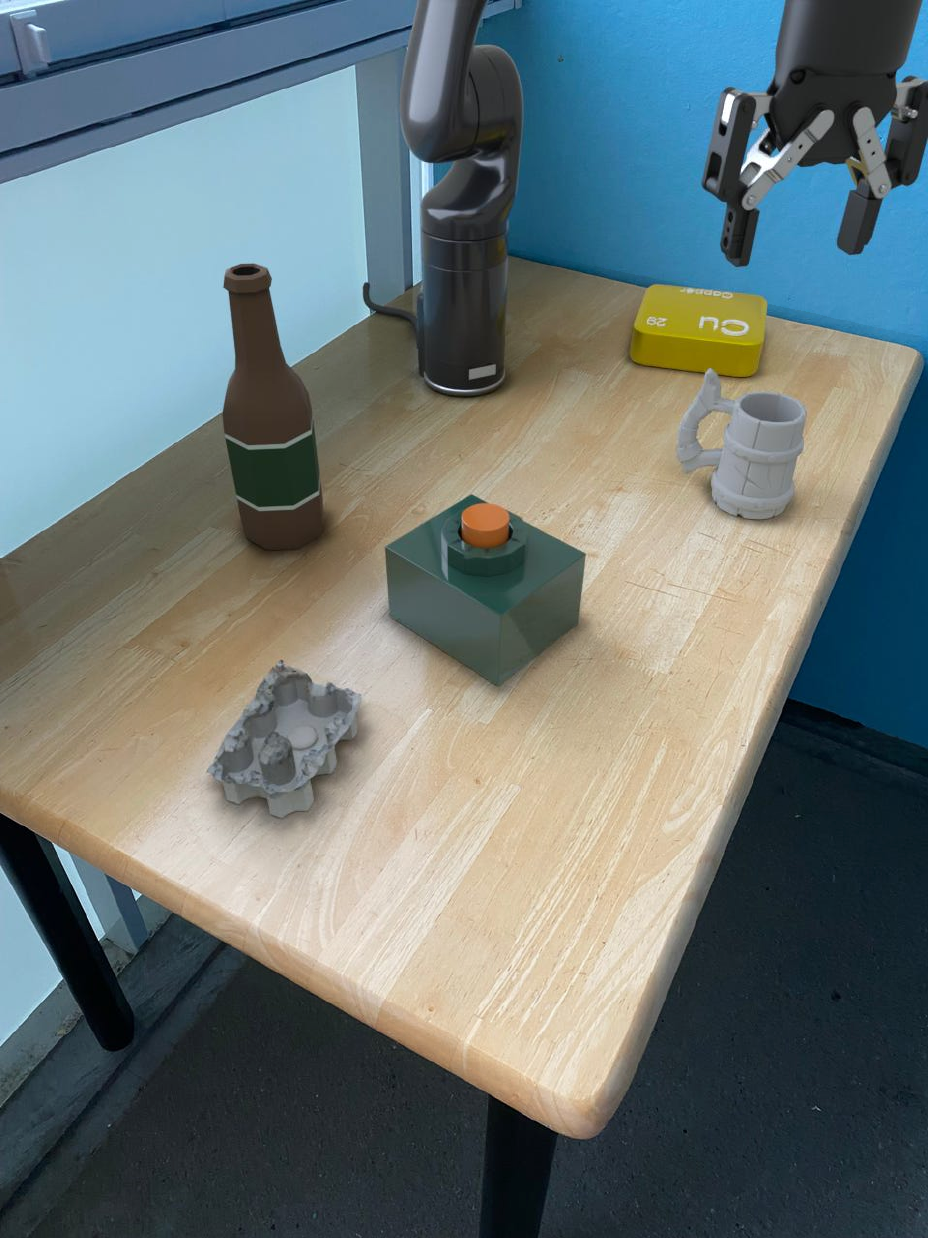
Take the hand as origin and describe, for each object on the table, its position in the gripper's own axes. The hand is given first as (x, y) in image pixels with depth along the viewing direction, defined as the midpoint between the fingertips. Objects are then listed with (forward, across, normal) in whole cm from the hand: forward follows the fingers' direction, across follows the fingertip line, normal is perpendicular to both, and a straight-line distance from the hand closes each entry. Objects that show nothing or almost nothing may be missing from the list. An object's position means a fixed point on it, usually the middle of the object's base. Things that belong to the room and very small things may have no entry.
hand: (792, 256), depth 64 cm
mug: (+27, -6, -11) cm, 30 cm away
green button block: (+27, +22, +1) cm, 35 cm away
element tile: (+28, -17, -42) cm, 53 cm away
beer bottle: (+28, +36, -16) cm, 48 cm away
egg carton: (+28, +39, +12) cm, 49 cm away
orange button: (+19, +22, +1) cm, 29 cm away
